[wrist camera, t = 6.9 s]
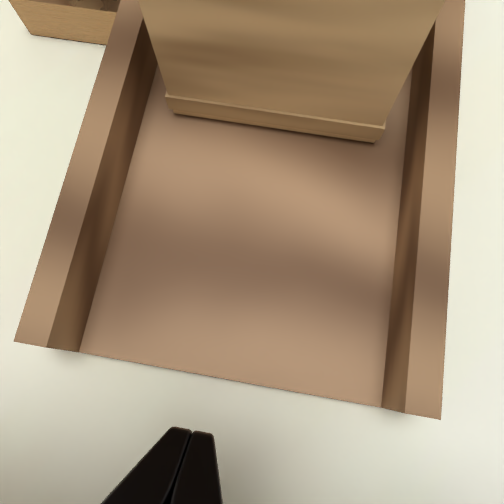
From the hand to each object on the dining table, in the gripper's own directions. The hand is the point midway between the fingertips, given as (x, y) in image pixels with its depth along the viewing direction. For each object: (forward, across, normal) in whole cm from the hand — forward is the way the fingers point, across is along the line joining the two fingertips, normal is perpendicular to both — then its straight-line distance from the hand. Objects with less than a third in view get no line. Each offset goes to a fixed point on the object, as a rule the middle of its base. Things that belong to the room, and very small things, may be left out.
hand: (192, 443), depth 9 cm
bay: (+13, 0, -3) cm, 13 cm away
